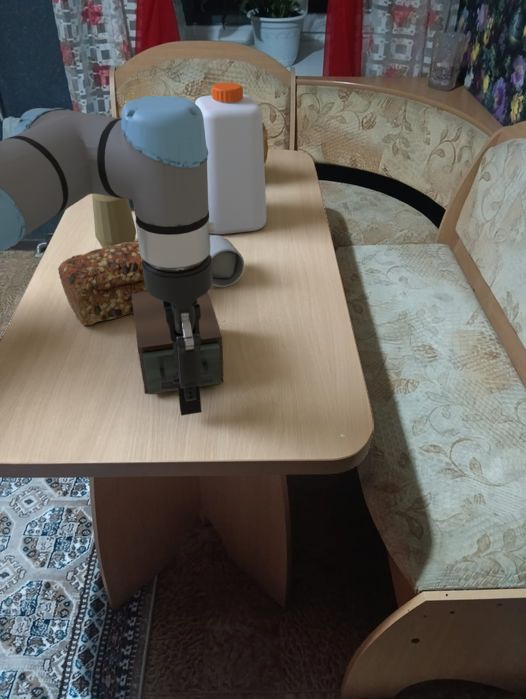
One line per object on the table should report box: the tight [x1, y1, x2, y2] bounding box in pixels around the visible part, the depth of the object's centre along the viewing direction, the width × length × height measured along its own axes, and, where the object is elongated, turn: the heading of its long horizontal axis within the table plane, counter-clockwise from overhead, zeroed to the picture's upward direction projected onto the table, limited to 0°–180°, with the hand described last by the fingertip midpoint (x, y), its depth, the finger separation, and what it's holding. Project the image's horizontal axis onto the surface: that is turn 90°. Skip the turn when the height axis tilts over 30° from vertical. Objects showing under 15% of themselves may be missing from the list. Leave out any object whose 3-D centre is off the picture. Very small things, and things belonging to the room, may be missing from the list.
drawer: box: [143, 342, 222, 395], centre depth 79 cm, size 16×10×7 cm, turn 14°
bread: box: [57, 241, 148, 326], centre depth 94 cm, size 19×11×10 cm, turn 122°
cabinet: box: [131, 291, 224, 395], centre depth 82 cm, size 14×12×9 cm
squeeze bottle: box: [91, 194, 137, 248], centre depth 105 cm, size 8×8×18 cm
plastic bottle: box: [194, 81, 268, 235], centre depth 113 cm, size 15×15×28 cm
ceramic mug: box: [209, 234, 245, 288], centre depth 101 cm, size 11×8×8 cm
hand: (190, 410), depth 73 cm, fingers closed
